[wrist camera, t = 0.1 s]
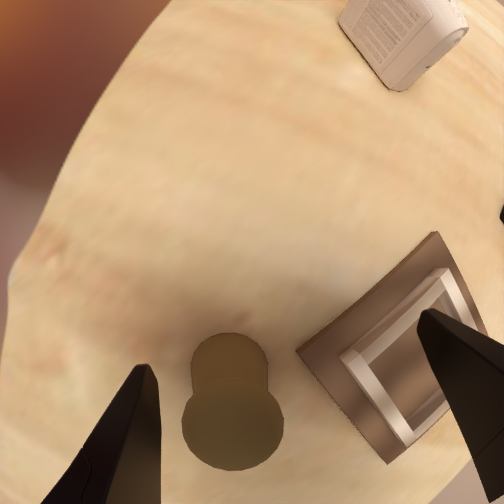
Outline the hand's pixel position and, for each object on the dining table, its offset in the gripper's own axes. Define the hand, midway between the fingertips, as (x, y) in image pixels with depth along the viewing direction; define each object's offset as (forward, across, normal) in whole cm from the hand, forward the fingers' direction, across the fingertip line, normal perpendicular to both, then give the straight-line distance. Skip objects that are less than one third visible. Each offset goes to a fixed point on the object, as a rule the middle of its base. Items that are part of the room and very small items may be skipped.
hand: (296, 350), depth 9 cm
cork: (+10, +3, +12) cm, 16 cm away
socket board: (+8, -13, +15) cm, 22 cm away
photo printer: (+24, -16, -10) cm, 31 cm away
